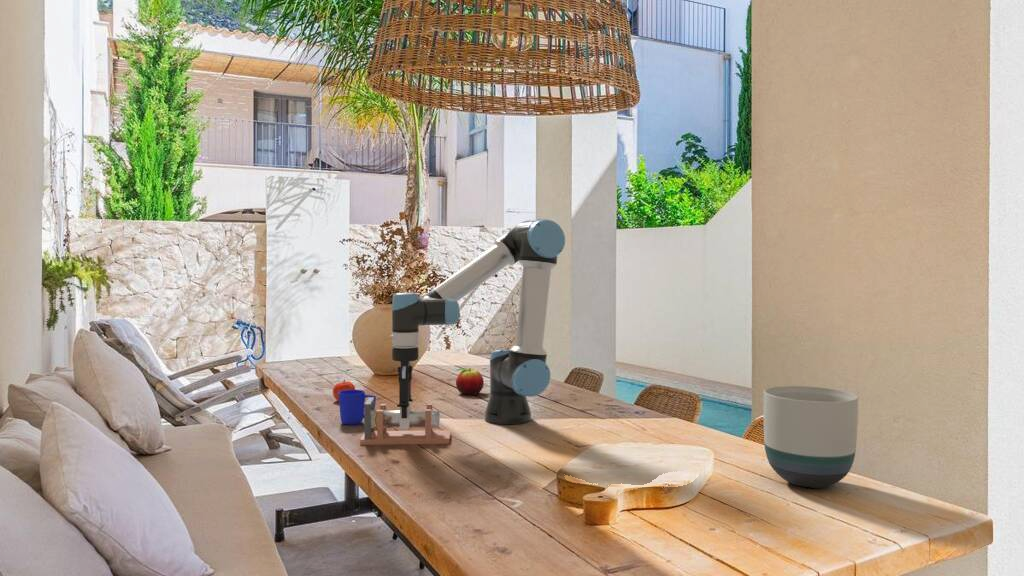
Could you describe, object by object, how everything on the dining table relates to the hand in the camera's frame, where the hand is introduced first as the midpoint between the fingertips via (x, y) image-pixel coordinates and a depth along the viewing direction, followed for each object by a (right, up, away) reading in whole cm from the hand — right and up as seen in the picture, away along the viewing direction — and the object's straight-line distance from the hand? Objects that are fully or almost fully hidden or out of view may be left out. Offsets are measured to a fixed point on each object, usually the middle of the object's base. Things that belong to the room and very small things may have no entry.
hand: (405, 426), depth 212 cm
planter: (+100, -6, -40) cm, 108 cm away
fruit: (+14, -1, +72) cm, 74 cm away
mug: (-18, -3, +21) cm, 28 cm away
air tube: (0, 0, +1) cm, 1 cm away
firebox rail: (0, -4, 0) cm, 4 cm away
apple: (-31, -2, +57) cm, 65 cm away
